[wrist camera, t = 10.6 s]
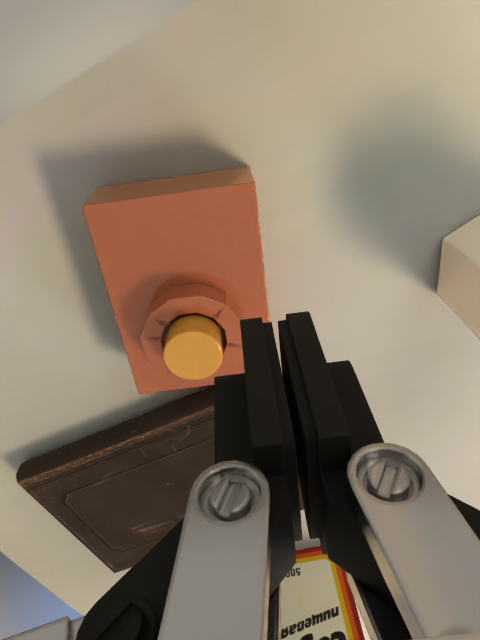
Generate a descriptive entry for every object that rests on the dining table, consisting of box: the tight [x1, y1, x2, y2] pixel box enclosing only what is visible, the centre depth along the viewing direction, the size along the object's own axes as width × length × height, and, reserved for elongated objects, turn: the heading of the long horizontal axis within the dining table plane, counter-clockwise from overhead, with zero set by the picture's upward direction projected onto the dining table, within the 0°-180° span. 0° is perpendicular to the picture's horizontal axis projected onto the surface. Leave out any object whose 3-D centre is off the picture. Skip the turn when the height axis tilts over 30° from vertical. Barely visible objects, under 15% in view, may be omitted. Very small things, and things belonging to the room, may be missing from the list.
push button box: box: [82, 166, 270, 394], centre depth 31 cm, size 14×10×6 cm
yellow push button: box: [163, 315, 223, 380], centre depth 28 cm, size 4×4×2 cm
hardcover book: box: [16, 387, 304, 573], centre depth 42 cm, size 16×23×2 cm
